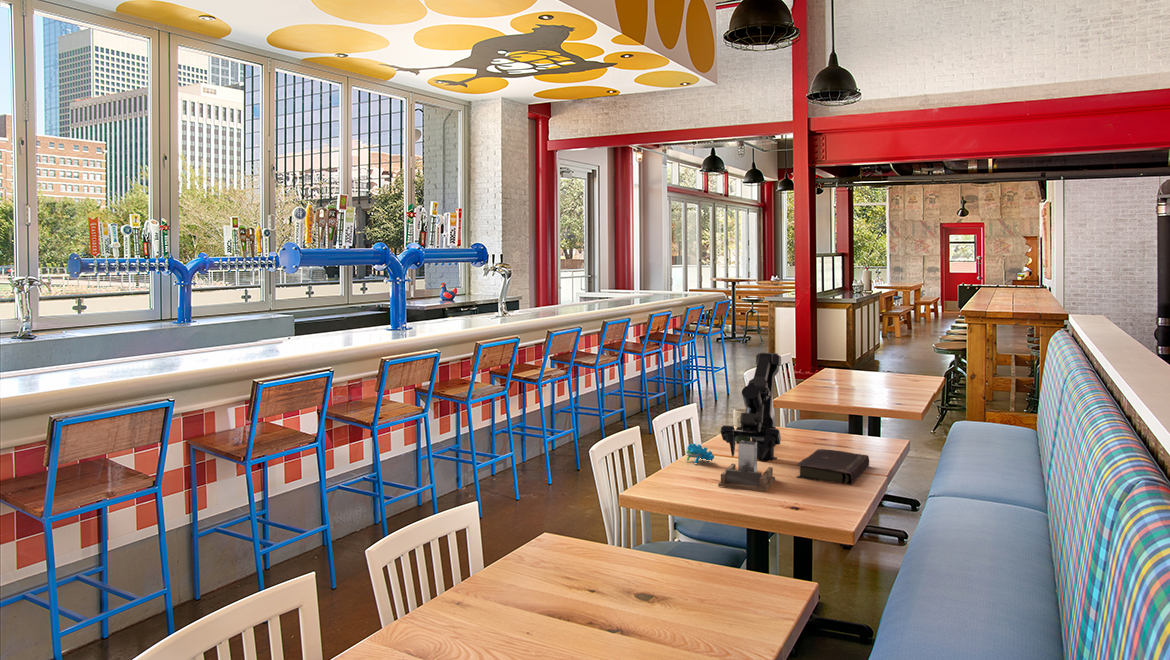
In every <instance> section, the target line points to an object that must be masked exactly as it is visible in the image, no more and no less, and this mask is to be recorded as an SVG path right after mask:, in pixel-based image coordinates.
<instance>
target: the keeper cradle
mask: <svg viewBox="0 0 1170 660" xmlns="http://www.w3.org/2000/svg"><path fill="white" fill-rule="evenodd" d="M736 464H737V463H731V464H730V465H729V466H727V468H726V469H724V471H722V472H721V473H720V481H719V482H718V483H717V484H718V485H717V486H724V487H723V488H727V487H731V488H730V489H737V490H747V491H757V492H765V493H766V492H767V491H768V490H769V489H770V487H771V486H772V484H774V482H775V481H776V476H774V475H773V474H774V473H773V472H774V471H773V469H774V468H773V466H772V467H771V466H768V467H767V469H766V470H765V471H764V472H758V471H757V472H749V471H747V465H744V464H743V465H741V471H739V470H738V469H736V468H737V467H736V466H737V465H736Z"/></svg>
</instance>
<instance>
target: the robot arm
mask: <svg viewBox="0 0 1170 660" xmlns="http://www.w3.org/2000/svg"><path fill="white" fill-rule="evenodd" d="M755 365H756V367H755V371H754V375H753V378H752V379H750V380H748V384H747V385H745V386H744V387H743V388H742V389H741V396H742V400H743V404H744V406H745V409H746V411H745V413H741V419H740V423H741V428H743V429H742V430H736V428H735V426H734V425H726V424H723V425H722V426H720V431H719V432H720V435H721V439H722V440H723V441H724V442H726V443H727V444H729V447H730V452H731V457H734V456H735V451H736V449H735V448H736V441H735V438H736V436H740V437H750V438H751V441H757V459H759V460H758V461H761V460H762V461H761V462H770V461H774V460H777V459H778V457H777V456H775V452H774V451H775V447H776V445H778V446H779V445H781V441H782V440H781V439H782V437H781V432H780V430H779V428H776V423H775V422H774V419H773V418H772V408H773V396H774V395H773V394H774V393H773V392H774V382H775V381H774V379H775V377H776V376H777V374H778V373H779V371H780V366H781V365H782V356H781V355H779V353H776V352H774V353H773V352H759V353H757V354H755ZM773 459H774V460H773ZM769 460H770V461H769Z"/></svg>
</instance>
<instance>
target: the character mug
mask: <svg viewBox="0 0 1170 660" xmlns="http://www.w3.org/2000/svg"><path fill="white" fill-rule="evenodd" d="M745 411H746V408H734V409H733V415H732V417H733V426H734V427H736V428H735V430H742V429H743V428H741V423H740V419H741V413H745ZM741 440H744V441H752V439H751V438H750V437H740V436H736V438H735V443H736V442H737V443H739V442H740V441H741Z"/></svg>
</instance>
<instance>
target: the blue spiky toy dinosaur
mask: <svg viewBox="0 0 1170 660" xmlns="http://www.w3.org/2000/svg"><path fill="white" fill-rule="evenodd" d="M686 454H687V457H686V460H688V461H690V458H693V459H695V460H694V462H693V464H694V463H697V464H698V463H699V460H701V459H704V460H705V459H706V460H709V461H710V460H711V461H710V462H713V460H714V459H715V455H714V454H713V452H712V451H711V450H708V448H707V447H706V446H705V447H702V445H701V444H697V443H694V442H693V443H692V444H691V443H689V444H688V446H687V449H686ZM700 458H701V459H700ZM706 460H705V461H706Z"/></svg>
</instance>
